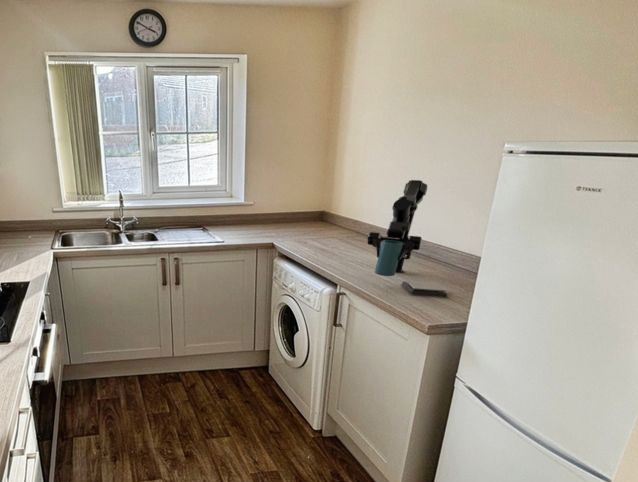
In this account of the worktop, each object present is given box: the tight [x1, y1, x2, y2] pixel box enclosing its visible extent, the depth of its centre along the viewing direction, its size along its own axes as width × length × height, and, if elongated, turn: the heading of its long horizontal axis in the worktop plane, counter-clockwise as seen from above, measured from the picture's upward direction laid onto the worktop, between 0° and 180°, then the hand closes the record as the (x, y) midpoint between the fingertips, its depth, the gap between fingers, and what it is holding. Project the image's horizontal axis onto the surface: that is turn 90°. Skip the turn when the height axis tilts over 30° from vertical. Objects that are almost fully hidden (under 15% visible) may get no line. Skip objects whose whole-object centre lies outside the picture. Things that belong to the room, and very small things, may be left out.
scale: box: [401, 280, 448, 298], centre depth 181 cm, size 14×12×2 cm
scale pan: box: [406, 280, 447, 293], centre depth 180 cm, size 11×11×1 cm
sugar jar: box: [374, 240, 403, 277], centre depth 181 cm, size 7×7×13 cm
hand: (387, 258), depth 180 cm, fingers closed on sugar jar, 7 cm apart
